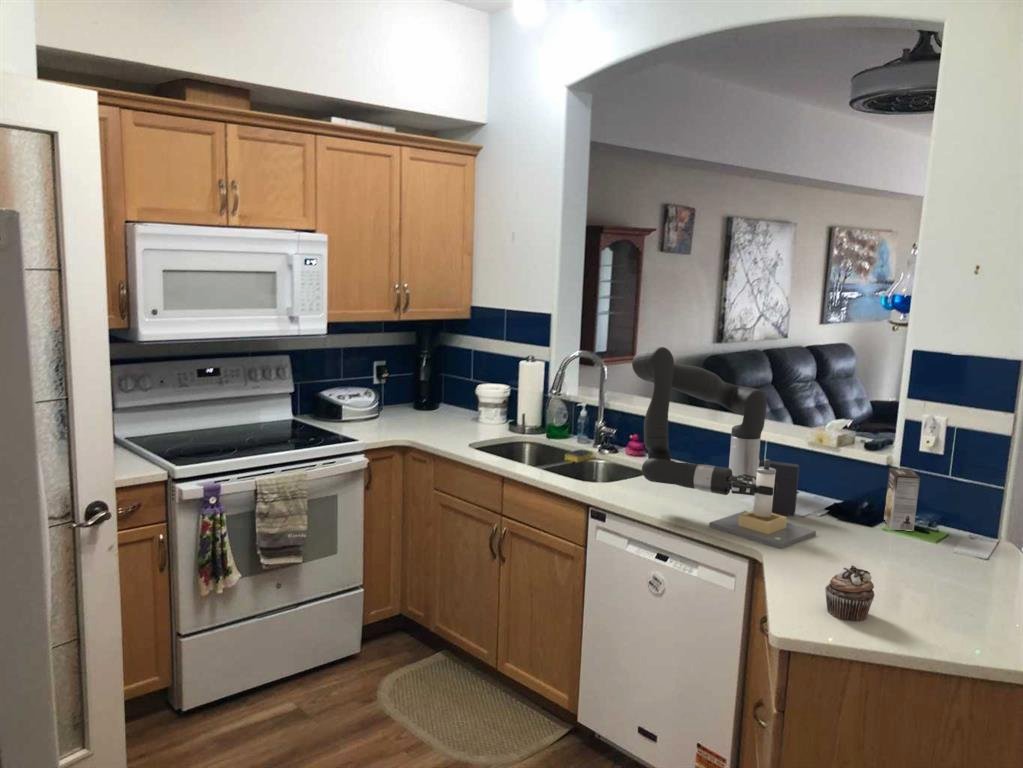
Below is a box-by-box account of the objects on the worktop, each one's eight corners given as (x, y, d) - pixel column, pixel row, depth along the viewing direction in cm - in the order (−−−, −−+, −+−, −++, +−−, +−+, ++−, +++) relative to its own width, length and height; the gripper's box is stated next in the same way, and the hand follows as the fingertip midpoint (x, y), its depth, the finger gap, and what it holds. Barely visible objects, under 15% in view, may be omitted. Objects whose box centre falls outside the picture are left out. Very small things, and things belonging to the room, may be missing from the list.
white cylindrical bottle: (759, 510, 230) (764, 456, 227) (775, 514, 226) (780, 460, 224) (749, 513, 226) (754, 459, 224) (765, 518, 223) (770, 462, 220)
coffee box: (882, 520, 240) (888, 467, 237) (906, 522, 239) (912, 468, 236) (890, 530, 231) (896, 475, 228) (915, 532, 230) (921, 476, 227)
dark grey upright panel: (795, 513, 244) (799, 463, 242) (793, 516, 240) (798, 467, 238) (757, 507, 249) (761, 459, 247) (755, 511, 245) (759, 462, 243)
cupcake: (835, 600, 181) (839, 557, 180) (879, 615, 174) (884, 570, 173) (814, 612, 175) (818, 567, 173) (859, 627, 168) (864, 581, 166)
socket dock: (744, 514, 241) (746, 500, 240) (815, 534, 225) (816, 520, 224) (709, 526, 229) (710, 512, 228) (780, 548, 213) (782, 533, 212)
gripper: (707, 471, 225) (771, 481, 217) (720, 461, 237) (781, 470, 229) (705, 498, 226) (768, 509, 218) (718, 486, 238) (778, 496, 231)
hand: (774, 489), depth 224 cm, fingers closed on white cylindrical bottle, 4 cm apart
